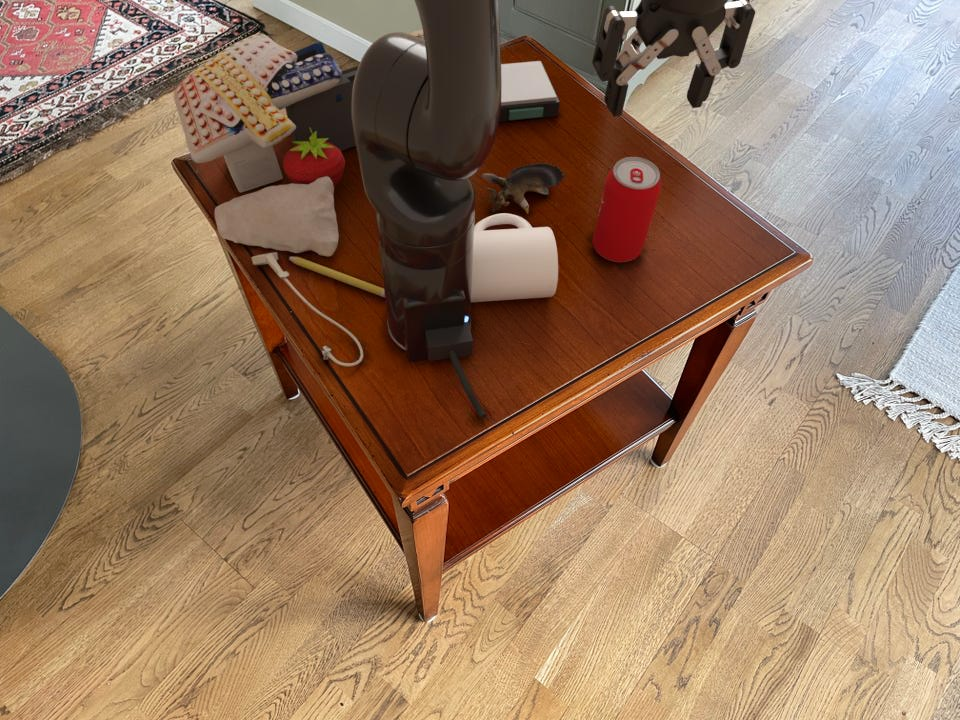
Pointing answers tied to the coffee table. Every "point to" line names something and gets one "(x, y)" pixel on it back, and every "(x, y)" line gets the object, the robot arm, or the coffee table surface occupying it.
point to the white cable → (272, 261)
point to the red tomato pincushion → (313, 161)
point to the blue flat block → (311, 51)
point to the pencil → (338, 275)
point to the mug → (513, 260)
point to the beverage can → (626, 209)
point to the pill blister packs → (247, 96)
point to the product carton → (253, 166)
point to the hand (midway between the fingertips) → (654, 107)
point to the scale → (526, 92)
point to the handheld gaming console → (326, 114)
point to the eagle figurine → (523, 183)
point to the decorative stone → (283, 218)
